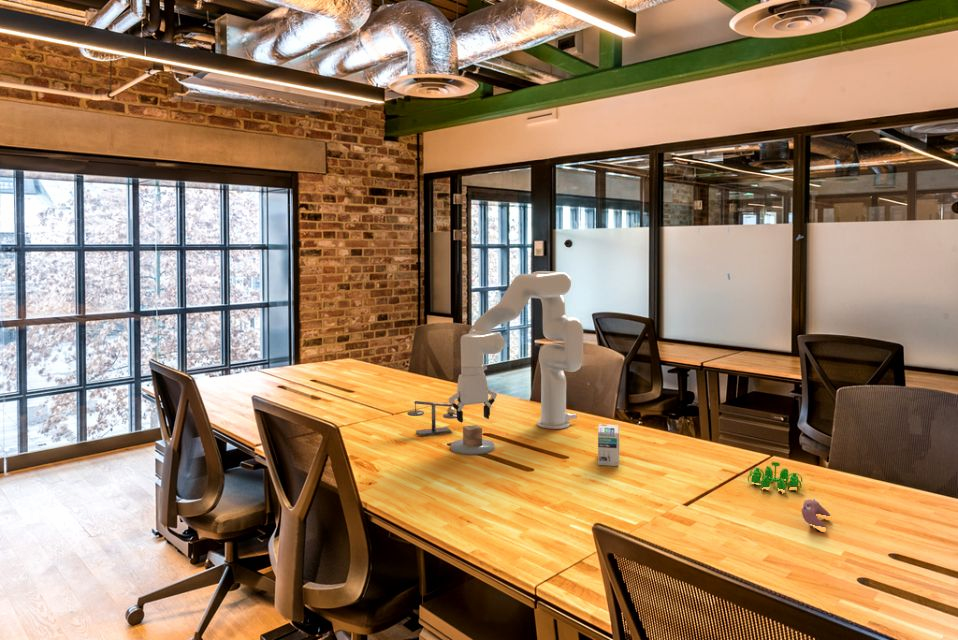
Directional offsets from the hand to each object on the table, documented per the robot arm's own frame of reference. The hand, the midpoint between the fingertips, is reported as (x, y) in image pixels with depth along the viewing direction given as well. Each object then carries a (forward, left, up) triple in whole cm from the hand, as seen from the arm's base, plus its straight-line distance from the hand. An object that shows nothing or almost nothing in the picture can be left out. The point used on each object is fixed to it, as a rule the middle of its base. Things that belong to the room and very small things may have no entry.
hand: (473, 419), depth 230 cm
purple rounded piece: (-53, +93, -10) cm, 107 cm away
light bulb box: (-34, +30, -10) cm, 47 cm away
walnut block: (0, 0, -9) cm, 9 cm away
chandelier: (-65, +68, -10) cm, 95 cm away
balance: (+7, -23, -10) cm, 26 cm away
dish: (+1, 0, -10) cm, 10 cm away
